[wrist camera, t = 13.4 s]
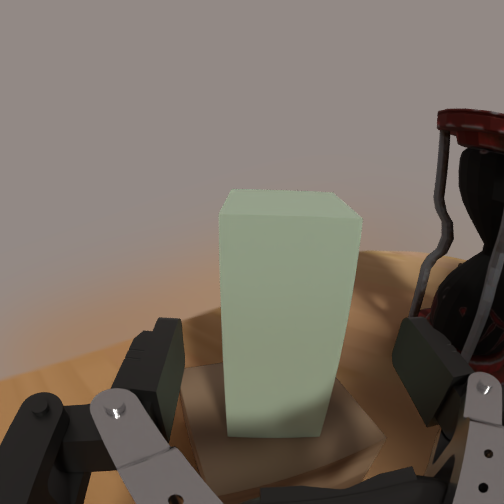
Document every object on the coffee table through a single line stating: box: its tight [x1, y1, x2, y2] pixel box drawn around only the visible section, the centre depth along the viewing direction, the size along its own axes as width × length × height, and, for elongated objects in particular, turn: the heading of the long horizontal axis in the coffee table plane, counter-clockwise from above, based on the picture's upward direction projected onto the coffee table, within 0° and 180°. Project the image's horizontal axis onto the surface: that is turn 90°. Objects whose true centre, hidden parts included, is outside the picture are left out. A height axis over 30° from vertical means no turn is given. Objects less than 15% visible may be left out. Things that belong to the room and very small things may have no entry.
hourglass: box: [408, 109, 504, 385], centre depth 25 cm, size 16×16×25 cm
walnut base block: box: [180, 363, 387, 504], centre depth 18 cm, size 10×10×6 cm
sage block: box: [219, 189, 363, 438], centre depth 15 cm, size 5×5×12 cm
